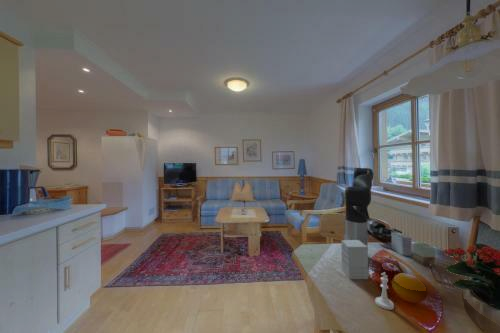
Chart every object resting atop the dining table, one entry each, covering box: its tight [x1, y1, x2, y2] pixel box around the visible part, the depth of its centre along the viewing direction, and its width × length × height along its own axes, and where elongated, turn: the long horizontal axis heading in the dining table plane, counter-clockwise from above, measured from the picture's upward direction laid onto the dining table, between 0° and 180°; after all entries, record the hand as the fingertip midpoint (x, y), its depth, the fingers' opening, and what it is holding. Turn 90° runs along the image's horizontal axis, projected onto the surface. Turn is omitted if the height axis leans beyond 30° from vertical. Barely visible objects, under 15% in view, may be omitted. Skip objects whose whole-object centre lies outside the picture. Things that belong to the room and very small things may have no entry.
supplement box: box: [340, 239, 369, 280], centre depth 80 cm, size 7×7×13 cm
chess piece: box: [374, 271, 395, 310], centre depth 63 cm, size 5×5×10 cm
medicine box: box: [390, 232, 413, 257], centre depth 99 cm, size 8×4×9 cm, turn 179°
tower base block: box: [413, 251, 436, 267], centre depth 88 cm, size 5×5×4 cm
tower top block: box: [413, 242, 436, 258], centre depth 88 cm, size 5×5×4 cm
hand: (395, 237), depth 104 cm, fingers open, 8 cm apart
